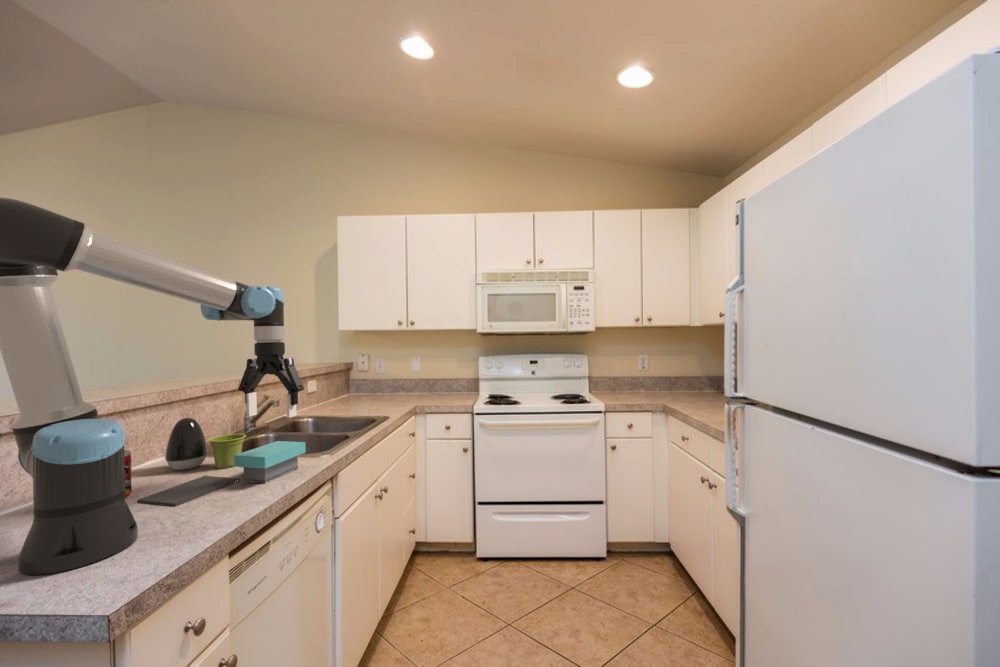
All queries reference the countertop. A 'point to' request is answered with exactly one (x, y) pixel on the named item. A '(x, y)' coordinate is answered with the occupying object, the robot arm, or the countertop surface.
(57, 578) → the countertop surface
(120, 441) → the robot arm
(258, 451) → the lid
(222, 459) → the plant pot
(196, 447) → the black egg-shaped piece
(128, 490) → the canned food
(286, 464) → the storage box
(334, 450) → the countertop surface
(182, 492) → the mat
